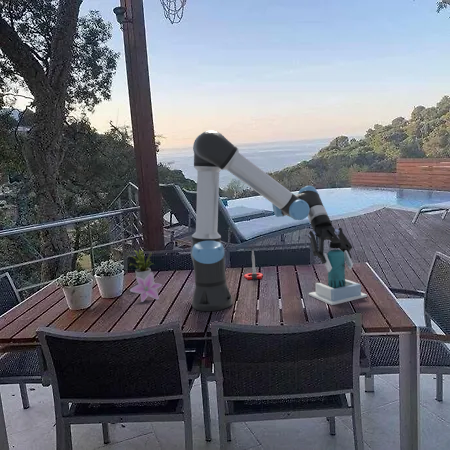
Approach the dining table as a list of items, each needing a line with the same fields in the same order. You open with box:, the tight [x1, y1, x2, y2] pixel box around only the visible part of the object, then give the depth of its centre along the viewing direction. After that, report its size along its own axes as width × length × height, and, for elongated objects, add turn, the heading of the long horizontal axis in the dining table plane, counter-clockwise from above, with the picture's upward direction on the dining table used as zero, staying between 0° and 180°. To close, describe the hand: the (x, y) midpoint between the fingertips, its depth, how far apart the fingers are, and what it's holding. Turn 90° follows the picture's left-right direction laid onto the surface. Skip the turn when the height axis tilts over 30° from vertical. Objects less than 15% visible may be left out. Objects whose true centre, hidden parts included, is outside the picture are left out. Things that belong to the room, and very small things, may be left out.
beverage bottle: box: [326, 241, 346, 289], centre depth 161 cm, size 6×7×20 cm
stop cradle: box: [308, 278, 368, 306], centre depth 162 cm, size 16×14×5 cm
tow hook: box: [243, 250, 264, 281], centre depth 196 cm, size 8×13×9 cm
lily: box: [129, 271, 163, 303], centre depth 177 cm, size 12×12×10 cm
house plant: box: [127, 249, 155, 279], centre depth 200 cm, size 14×14×16 cm
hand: (340, 268), depth 158 cm, fingers open, 8 cm apart
